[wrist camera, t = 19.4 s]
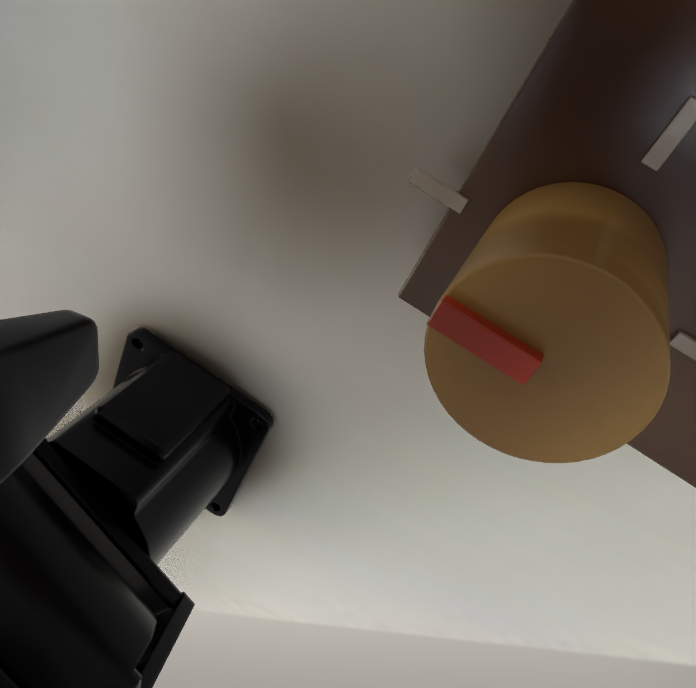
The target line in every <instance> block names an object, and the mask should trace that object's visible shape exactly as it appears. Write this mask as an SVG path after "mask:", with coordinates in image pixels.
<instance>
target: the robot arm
mask: <svg viewBox="0 0 696 688" xmlns="http://www.w3.org/2000/svg"><path fill="white" fill-rule="evenodd" d="M140 340H141V341H142V342H141V341H140ZM98 369H99V355H98V330H97V326H96V324H95V322H94V321H93V320H92V319H90V318H88V317H86V316H84V315H81V314H79V313H77V312H74V311H71V310H60V311H54V312H48V313H41V314H35V315H28V316H22V317H16V318H9V319H3V320H0V688H152V687H153V685H154V683H155V681H156V679H157V677H158V675H159V673H160V671H161V670H162V668H163V665H164V663H165V662H166V659H167V657H168V656H169V654H170V652H171V650H172V648H173V646H174V644H175V642H176V640H177V638H178V636H179V634H180V632H181V630H182V628H183V627H184V625H185V622H186V621H187V619H188V617H189V615H190V613H191V611H192V609H193V607H194V605H195V604H194V602H193V601H192V600H191V599H190V598H189V597H188V596H187V594H186V593H185V592H180V591H179V590H178V589H177V587H176V586H175V585H174V584H173V583H172V582H171V581H170V579H169V578H168V577H167V576H166V575H165V574H164V573H163V571H162V570H161V569H160V568H159V567H158V566H157V564H158V563H159V562H160V561H161V559H162V558H163V557H164V556H165V555H166V554H167V552H168V551H169V550H170V549H171V548H172V546H173V545H174V544H175V543H176V542H177V541H178V539H179V538H180V537H181V536H182V535H183V534H184V532H185V531H186V530H187V529H188V528H189V527H190V525H191V524H192V523H193V522H194V521H195V520H196V518H197V517H198V516H199V515H200V514H201V512H202V511H203V510H204V509H205V508H206V509H207V510H208V511H210V512H211V513H213V514H215V515H217V516H223V515H224V514H225V513H226V512H227V511H228V510H229V508H230V507H231V505H232V503H233V501H234V499H235V497H236V495H237V494H238V492H239V490H240V488H241V486H242V484H243V482H244V480H245V478H246V476H247V474H248V473H249V471H250V469H251V467H252V465H253V463H254V461H255V459H256V457H257V455H258V453H259V452H260V450H261V448H262V446H263V444H264V442H265V440H266V438H267V436H268V434H269V432H270V431H271V429H272V427H273V423H274V421H273V417H272V416H271V414H270V413H269V412H268V411H267V410H265V409H264V408H263V407H261V406H260V405H258V404H257V403H255V402H254V401H252V400H251V399H249V398H248V397H246V396H245V395H243V394H242V393H240V392H239V391H237V390H236V389H234V388H233V387H231V386H230V385H228V384H227V383H225V382H224V381H223V380H221V379H220V378H218V377H217V376H215V375H214V374H212V373H211V372H209V371H208V370H206V369H205V368H203V367H202V366H200V365H199V364H197V363H196V362H194V361H193V360H191V359H190V358H188V357H187V356H186V355H184V354H183V353H181V352H180V351H178V350H177V349H175V348H174V347H172V346H171V345H169V344H168V343H166V342H165V341H163V340H162V339H160V338H159V337H157V336H156V335H154V334H153V333H151V332H150V331H148V330H147V329H145V328H140V327H139V328H137V329H135V330H134V331H132V332H131V333H129V335H128V336H127V339H126V343H125V347H124V350H123V354H122V357H121V361H120V364H119V368H118V372H117V375H116V379H115V382H114V386H113V390H111V391H110V392H109V393H107V394H106V395H105V396H103V397H102V398H101V399H99V400H98V401H97V402H95V403H94V404H93V405H91V406H90V407H89V408H87V409H86V410H85V411H83V412H82V413H81V414H80V415H78V416H77V417H76V418H74V419H73V420H72V421H70V422H69V423H68V424H66V425H65V426H64V427H62V428H61V429H60V430H58V431H57V432H56V433H54V434H53V435H52V436H50V437H49V438H48V439H46V438H45V437H46V436H47V435H48V434H49V433H50V432H51V430H52V429H53V428H54V427H55V426H56V425H57V424H58V422H59V421H60V420H61V419H62V418H63V417H64V416H65V414H66V413H67V412H68V411H69V410H70V409H71V408H72V406H73V405H74V404H75V403H76V402H77V401H78V400H79V398H80V397H81V396H82V395H83V394H84V393H85V391H86V390H87V389H88V388H89V387H90V386H91V384H92V383H93V382H94V380H95V378H96V376H97V373H98ZM257 419H258V420H259V421H260V422H261V423H262V424H261V423H259V422H258V421H257Z"/></svg>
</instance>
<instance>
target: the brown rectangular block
mask: <svg viewBox="0 0 696 688" xmlns="http://www.w3.org/2000/svg"><path fill="white" fill-rule="evenodd" d="M562 182H582V183H590V184H595V185H600V186H603V187H606V188H609V189H612V190H614V191H616V192H618V193H620V194H622V195H624V196H626V197H627V198H629V199H630V200H632V201H633V202H635V203H636V204H637V205H638V206H639V207H640V208H641V209H642V210H644V211H645V212H646V214H647V215H648V216H649V217H650V219H651V220H652V221H653V222H654V224H655V226H656V227H657V229H658V231H659V233H660V235H661V237H662V240H663V242H664V246H665V250H666V254H667V265H668V296H669V328H670V360H671V368H670V380H669V384H668V388H667V392H666V396H665V398H664V400H663V402H662V405H661V407H660V409H659V410H658V412H657V413H656V415H655V416H654V418H653V419H652V421H651V422H650V423H649V424H648V425H647V426H646V427H645V428H644V430H643V431H641V432H640V433H639V434H638V435H637V436H635V437H634V438H633V439H632V440H631V441H629V442H628V443H627V444H628V445H630V446H632V447H633V448H635V449H636V450H638V451H639V452H641V453H642V454H644V455H646V456H647V457H649V458H650V459H652V460H653V461H655V462H656V463H658V464H660V465H661V466H663V467H664V468H666V469H667V470H669V471H670V472H672V473H674V474H675V475H677V476H678V477H680V478H681V479H683V480H684V481H686V482H688V483H689V484H691V485H692V486H694V487H695V488H696V0H572V2H571V4H570V5H569V7H568V9H567V10H566V12H565V14H564V16H563V17H562V19H561V21H560V22H559V24H558V26H557V27H556V29H555V31H554V32H553V34H552V36H551V37H550V39H549V41H548V43H547V44H546V46H545V48H544V49H543V51H542V53H541V54H540V56H539V58H538V59H537V61H536V63H535V65H534V66H533V68H532V70H531V71H530V73H529V75H528V76H527V78H526V80H525V81H524V83H523V85H522V86H521V88H520V90H519V92H518V93H517V95H516V97H515V98H514V100H513V102H512V103H511V105H510V107H509V108H508V110H507V112H506V113H505V115H504V117H503V119H502V120H501V122H500V124H499V125H498V127H497V129H496V130H495V132H494V134H493V135H492V137H491V139H490V140H489V142H488V144H487V146H486V147H485V149H484V151H483V152H482V154H481V156H480V157H479V159H478V161H477V162H476V164H475V166H474V167H473V169H472V171H471V173H470V174H469V176H468V178H467V179H466V181H465V183H464V184H463V186H462V188H461V189H460V191H459V193H458V192H456V191H455V190H453V189H452V188H450V187H448V186H447V185H445V184H443V183H442V182H440V181H439V180H437V179H435V178H434V177H432V176H431V175H429V174H427V173H426V172H424V171H422V170H421V169H419V168H416V169H415V171H414V173H413V174H412V176H411V178H410V180H409V183H411V184H412V185H414V186H416V187H417V188H419V189H420V190H422V191H424V192H425V193H427V194H428V195H430V196H432V197H433V198H435V199H436V200H438V201H440V202H441V203H443V204H445V205H446V206H448V207H449V210H448V211H447V213H446V215H445V216H444V218H443V220H442V222H441V223H440V225H439V227H438V228H437V230H436V232H435V233H434V235H433V237H432V238H431V240H430V242H429V243H428V245H427V247H426V249H425V250H424V252H423V254H422V255H421V257H420V259H419V260H418V262H417V264H416V265H415V267H414V269H413V270H412V272H411V274H410V276H409V277H408V279H407V281H406V282H405V284H404V286H403V287H402V289H401V291H400V292H399V297H400V298H401V299H403V300H404V301H406V302H407V303H409V304H410V305H412V306H413V307H415V308H417V309H418V310H420V311H421V312H423V313H424V314H426V315H427V316H429V317H431V314H432V312H433V310H434V308H435V306H436V304H437V302H438V301H439V299H440V298H441V296H442V295H443V294H444V292H445V291H446V289H447V288H448V286H449V285H450V283H451V282H452V280H453V279H454V277H455V276H456V274H457V273H458V271H459V270H460V268H461V267H462V266H463V264H464V263H465V261H466V260H467V258H468V257H469V255H470V254H471V252H472V251H473V249H474V248H475V246H476V245H477V243H478V242H479V240H480V239H481V238H482V236H483V235H484V233H485V232H486V230H487V229H488V227H489V226H490V224H491V223H492V222H493V220H494V219H495V218H496V216H497V215H498V214H499V213H500V212H501V211H502V210H503V209H504V208H505V207H506V206H507V205H508V204H510V203H511V202H512V201H513V200H515V199H516V198H518V197H520V196H521V195H523V194H525V193H527V192H529V191H532V190H534V189H536V188H539V187H543V186H546V185H550V184H556V183H562Z"/></svg>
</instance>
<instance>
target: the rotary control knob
mask: <svg viewBox="0 0 696 688" xmlns="http://www.w3.org/2000/svg"><path fill="white" fill-rule="evenodd" d="M424 353H425V363H426V368H427V372H428V376H429V379H430V382H431V385H432V387H433V390H434V392H435V394H436V395H437V397H438V399H439V401H440V403H441V404H442V405H443V407H444V408H445V410H446V411H447V412H448V414H449V415H450V416H451V417H452V418H453V419H454V420H455V421H456V422H457V423H458V424H459V425H460V426H461V427H462V428H463V429H464V430H465V431H467V432H468V433H469V434H471V435H472V436H473V437H475V438H476V439H478V440H479V441H481V442H483V443H484V444H486V445H488V446H490V447H491V448H494V449H496V450H498V451H500V452H503V453H505V454H508V455H511V456H514V457H517V458H521V459H526V460H530V461H536V462H545V463H568V462H578V461H583V460H588V459H592V458H595V457H599V456H602V455H605V454H607V453H609V452H611V451H614V450H616V449H618V448H620V447H621V446H623V445H624V444H626V443H628V442H629V441H631V440H632V439H633V438H634V437H635V436H637V435H638V434H639V433H640V432H641V431H643V430H644V428H645V427H646V426H647V425H648V424H649V423H650V422H651V421H652V419H653V418H654V416H655V415H656V413H657V412H658V410H659V409H660V407H661V405H662V402H663V400H664V398H665V396H666V392H667V388H668V384H669V380H670V368H671V360H670V328H669V296H668V265H667V254H666V250H665V246H664V242H663V240H662V237H661V235H660V233H659V231H658V229H657V227H656V226H655V224H654V222H653V221H652V220H651V219H650V217H649V216H648V215H647V214H646V212H645V211H644V210H642V209H641V208H640V207H639V206H638V205H637V204H636V203H635V202H633V201H632V200H630V199H629V198H627V197H626V196H624V195H622V194H620V193H618V192H616V191H614V190H612V189H609V188H606V187H603V186H600V185H595V184H590V183H582V182H562V183H556V184H550V185H546V186H543V187H539V188H536V189H534V190H532V191H529V192H527V193H525V194H523V195H521V196H520V197H518V198H516V199H515V200H513V201H512V202H511V203H510V204H508V205H507V206H506V207H505V208H504V209H503V210H502V211H501V212H500V213H499V214H498V215H497V216H496V218H495V219H494V220H493V222H492V223H491V224H490V226H489V227H488V229H487V230H486V232H485V233H484V235H483V236H482V238H481V239H480V240H479V242H478V243H477V245H476V246H475V248H474V249H473V251H472V252H471V254H470V255H469V257H468V258H467V260H466V261H465V263H464V264H463V266H462V267H461V268H460V270H459V271H458V273H457V274H456V276H455V277H454V279H453V280H452V282H451V283H450V285H449V286H448V288H447V289H446V291H445V292H444V294H443V295H442V296H441V298H440V299H439V301H438V302H437V304H436V306H435V308H434V310H433V312H432V314H431V317H430V319H429V321H428V322H427V330H426V335H425V346H424Z"/></svg>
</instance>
